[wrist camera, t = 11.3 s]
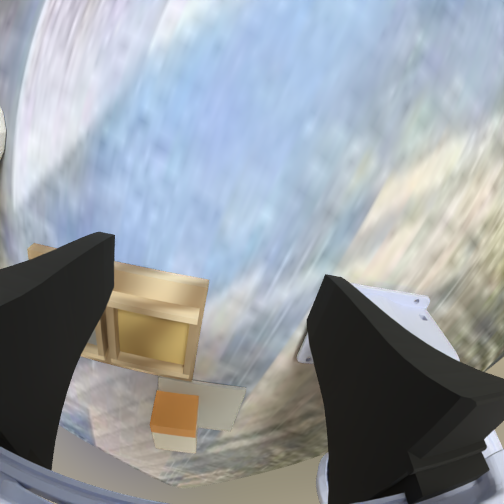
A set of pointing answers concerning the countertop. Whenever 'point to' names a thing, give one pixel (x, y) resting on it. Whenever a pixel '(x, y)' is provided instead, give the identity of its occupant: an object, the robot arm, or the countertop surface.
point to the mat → (209, 400)
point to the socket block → (148, 320)
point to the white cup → (2, 133)
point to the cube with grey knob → (175, 421)
